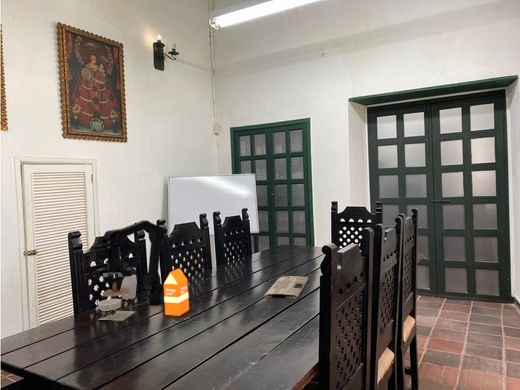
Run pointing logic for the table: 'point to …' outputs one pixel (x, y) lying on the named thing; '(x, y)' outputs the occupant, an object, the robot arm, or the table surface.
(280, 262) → the table surface
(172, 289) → the orange juice
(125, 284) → the cup
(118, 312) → the mat
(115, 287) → the lid
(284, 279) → the newspaper
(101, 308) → the bowl
